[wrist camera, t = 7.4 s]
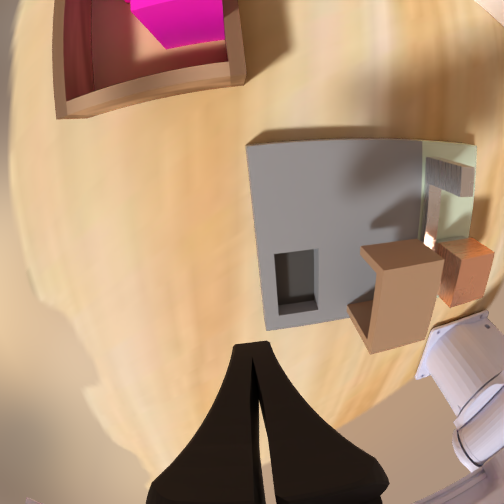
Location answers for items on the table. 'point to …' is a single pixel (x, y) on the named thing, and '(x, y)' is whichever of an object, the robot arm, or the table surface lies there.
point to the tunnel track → (351, 233)
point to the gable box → (493, 8)
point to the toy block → (181, 20)
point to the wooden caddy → (138, 90)
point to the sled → (454, 248)
